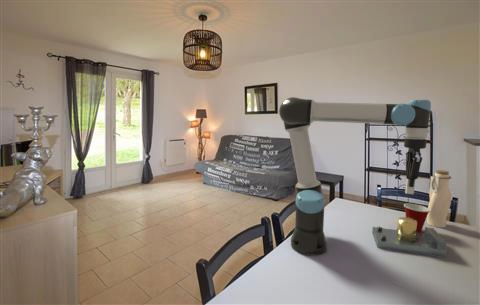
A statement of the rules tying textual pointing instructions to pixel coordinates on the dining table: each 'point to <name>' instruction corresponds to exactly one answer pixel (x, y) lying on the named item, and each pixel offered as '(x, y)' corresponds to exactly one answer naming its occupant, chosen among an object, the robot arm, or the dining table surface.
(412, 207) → the plastic cup
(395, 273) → the dining table surface
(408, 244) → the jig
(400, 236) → the golden knob
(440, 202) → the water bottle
